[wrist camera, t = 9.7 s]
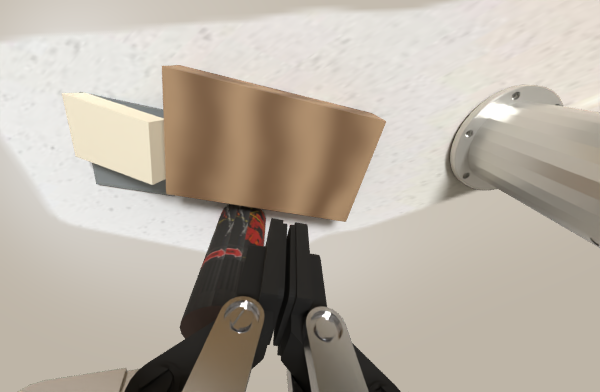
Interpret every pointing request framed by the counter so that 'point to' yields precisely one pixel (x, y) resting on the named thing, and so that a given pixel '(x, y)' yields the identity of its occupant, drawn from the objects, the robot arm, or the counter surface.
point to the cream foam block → (117, 136)
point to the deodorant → (223, 265)
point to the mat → (121, 180)
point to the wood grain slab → (263, 145)
